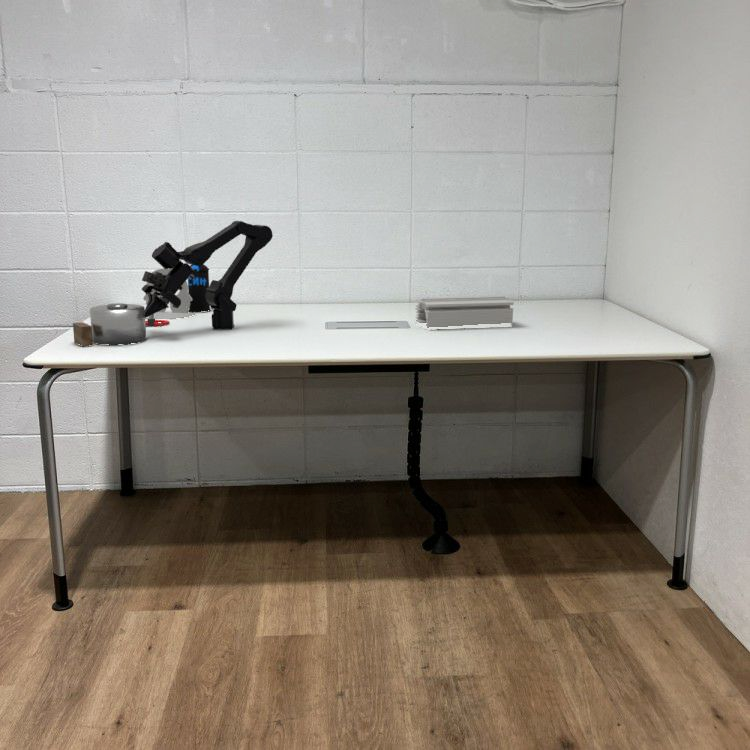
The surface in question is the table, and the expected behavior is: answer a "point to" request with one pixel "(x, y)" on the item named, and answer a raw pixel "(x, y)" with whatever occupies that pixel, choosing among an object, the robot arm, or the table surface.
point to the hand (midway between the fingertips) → (144, 316)
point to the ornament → (176, 312)
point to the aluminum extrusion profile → (464, 311)
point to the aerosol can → (199, 289)
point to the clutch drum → (118, 324)
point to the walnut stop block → (82, 334)
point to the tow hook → (155, 321)
